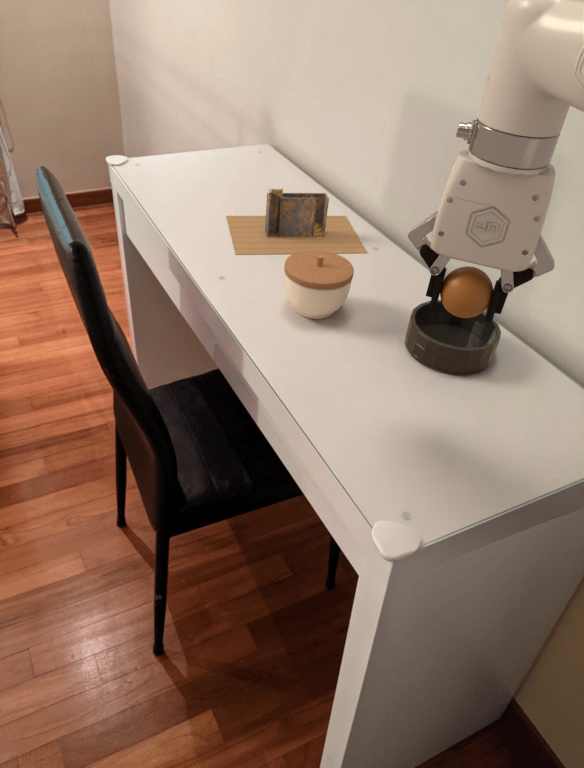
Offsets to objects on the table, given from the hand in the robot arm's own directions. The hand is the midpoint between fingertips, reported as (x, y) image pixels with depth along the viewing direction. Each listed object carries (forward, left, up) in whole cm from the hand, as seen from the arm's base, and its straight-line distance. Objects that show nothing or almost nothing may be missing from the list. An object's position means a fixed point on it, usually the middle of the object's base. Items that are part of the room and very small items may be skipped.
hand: (461, 308), depth 68 cm
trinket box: (+22, -19, -18) cm, 34 cm away
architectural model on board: (+34, -43, -18) cm, 58 cm away
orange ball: (0, 0, -1) cm, 1 cm away
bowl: (0, -18, -18) cm, 26 cm away
